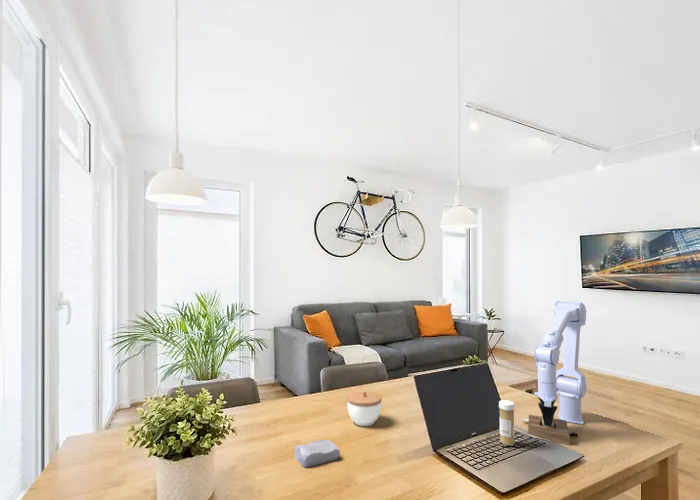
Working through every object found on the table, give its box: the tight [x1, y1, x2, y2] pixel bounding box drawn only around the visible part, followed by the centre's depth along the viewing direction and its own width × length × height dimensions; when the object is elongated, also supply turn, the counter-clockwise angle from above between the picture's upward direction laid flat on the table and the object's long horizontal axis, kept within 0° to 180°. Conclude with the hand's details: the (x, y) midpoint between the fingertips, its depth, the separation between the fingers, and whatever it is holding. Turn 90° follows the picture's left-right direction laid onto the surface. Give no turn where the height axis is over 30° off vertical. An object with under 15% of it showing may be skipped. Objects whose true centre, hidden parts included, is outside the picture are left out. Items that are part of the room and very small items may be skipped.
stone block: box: [294, 439, 341, 468], centre depth 113 cm, size 12×5×10 cm
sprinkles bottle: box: [498, 399, 515, 446], centre depth 122 cm, size 5×5×13 cm
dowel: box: [542, 416, 555, 428], centre depth 131 cm, size 4×4×8 cm
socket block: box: [527, 413, 570, 446], centre depth 131 cm, size 14×12×3 cm
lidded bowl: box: [346, 390, 382, 427], centre depth 139 cm, size 13×13×11 cm
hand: (547, 421), depth 131 cm, fingers open, 7 cm apart
